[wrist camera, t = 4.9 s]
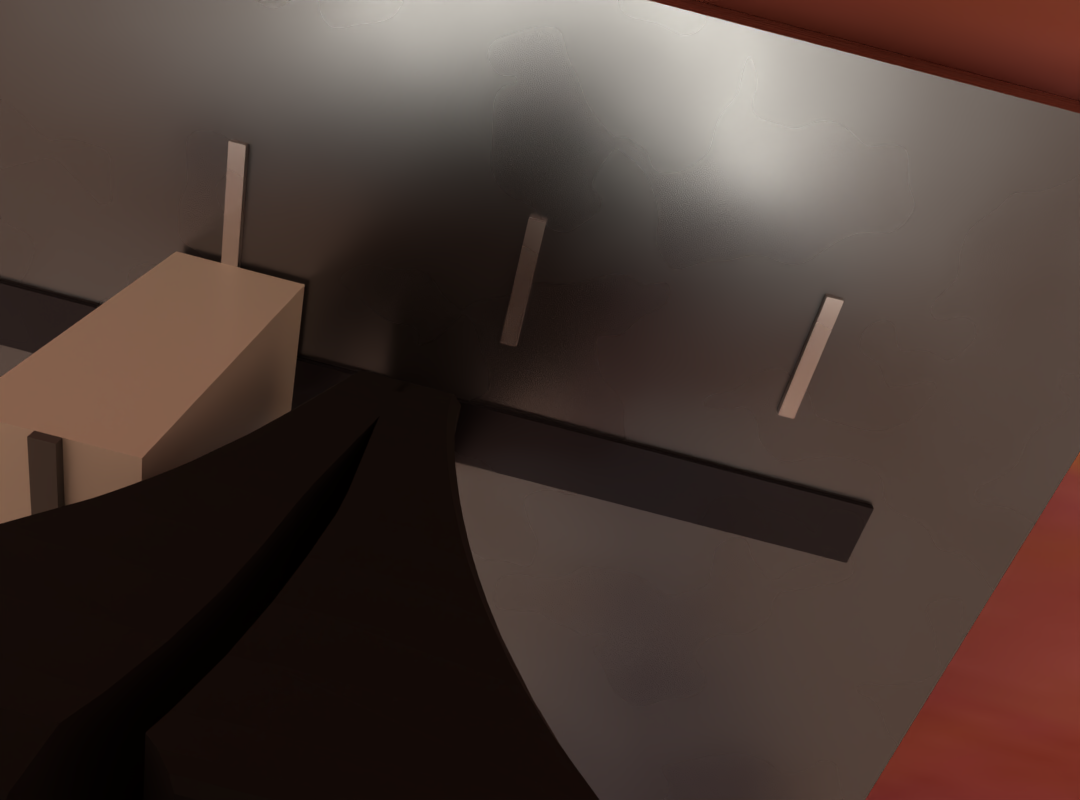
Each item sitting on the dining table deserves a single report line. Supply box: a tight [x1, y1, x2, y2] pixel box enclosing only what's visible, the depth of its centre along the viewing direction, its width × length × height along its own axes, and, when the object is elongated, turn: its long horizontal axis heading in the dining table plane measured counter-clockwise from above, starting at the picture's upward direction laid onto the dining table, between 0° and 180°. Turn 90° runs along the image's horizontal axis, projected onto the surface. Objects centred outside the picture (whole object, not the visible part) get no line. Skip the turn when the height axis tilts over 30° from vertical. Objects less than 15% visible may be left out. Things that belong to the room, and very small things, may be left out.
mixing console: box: [0, 0, 1080, 800], centre depth 14 cm, size 17×21×2 cm
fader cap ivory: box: [0, 251, 305, 524], centre depth 10 cm, size 3×2×4 cm, turn 167°
